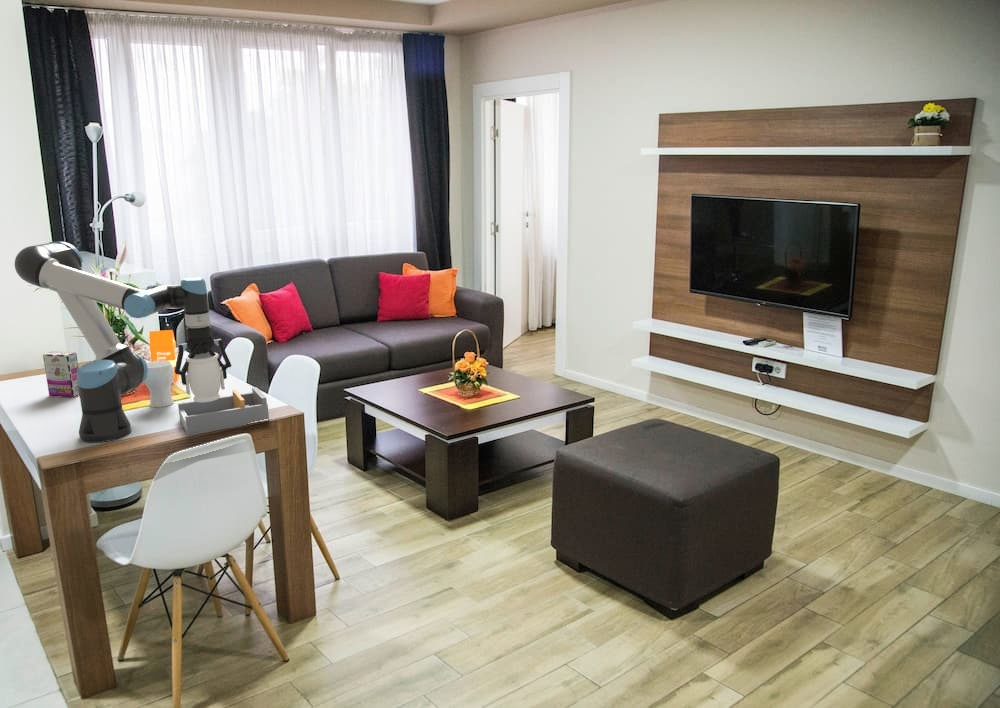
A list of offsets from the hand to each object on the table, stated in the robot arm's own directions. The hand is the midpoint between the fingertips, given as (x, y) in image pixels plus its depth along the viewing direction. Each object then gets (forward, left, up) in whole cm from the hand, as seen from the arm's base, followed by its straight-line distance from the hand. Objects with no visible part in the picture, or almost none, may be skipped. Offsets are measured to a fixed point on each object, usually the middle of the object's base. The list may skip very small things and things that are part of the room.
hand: (205, 391), depth 269 cm
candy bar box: (-41, +62, -11) cm, 75 cm away
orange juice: (-5, +65, -12) cm, 66 cm away
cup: (-11, +31, -11) cm, 35 cm away
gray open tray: (+5, 0, -11) cm, 12 cm away
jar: (0, 0, -3) cm, 3 cm away
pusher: (+12, 0, -10) cm, 15 cm away
